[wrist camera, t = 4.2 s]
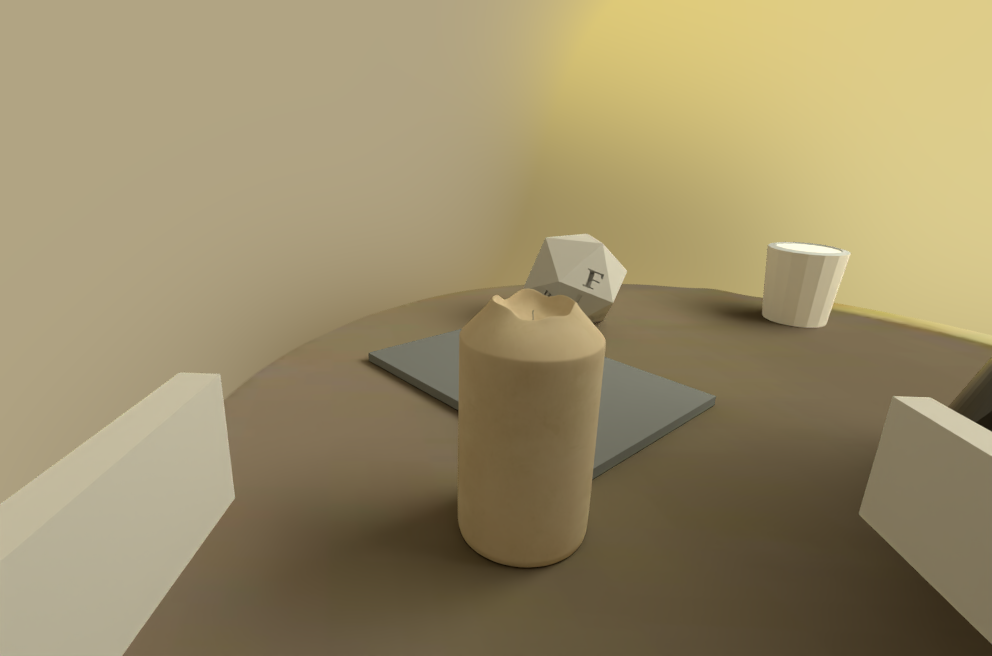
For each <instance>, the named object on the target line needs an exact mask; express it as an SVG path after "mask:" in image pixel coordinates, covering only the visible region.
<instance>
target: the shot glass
mask: <svg viewBox="0 0 992 656" xmlns="http://www.w3.org/2000/svg"><path fill="white" fill-rule="evenodd" d="M850 254H851V253H850V252H848V251H846V250H843V249H839V248H835V247H831V246H825V245H819V244H811V243H799V242H780V243H771V244H769V245H768V249H767V262H766V273H765V284H764V295H763V306H762V315H763V317H764V318H766V319H768V320H770V321H773V322H776V323H780V324H784V325H789V326H795V327H804V328H818V327H823V326H825V325H826V323H827V320H828V317H829V314H830V312H831V309H832V306H833V303H834V300H835V297H836V294H837V291H838V288H839V285H840V283H841V280H842V277H843V274H844V271H845V268H846V265H847V262H848V260H849V257H850Z"/></svg>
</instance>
